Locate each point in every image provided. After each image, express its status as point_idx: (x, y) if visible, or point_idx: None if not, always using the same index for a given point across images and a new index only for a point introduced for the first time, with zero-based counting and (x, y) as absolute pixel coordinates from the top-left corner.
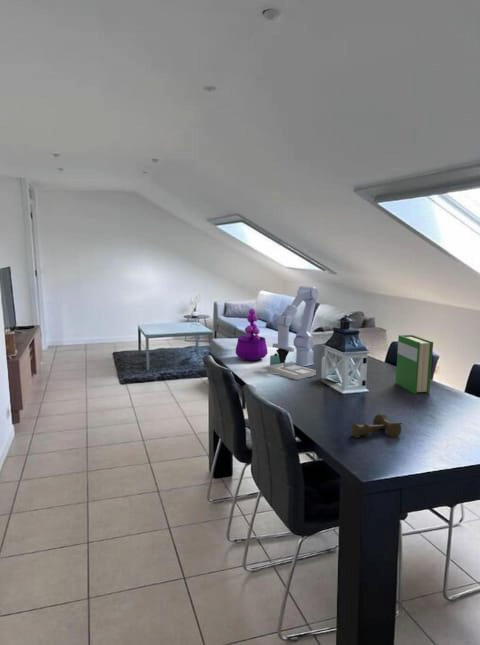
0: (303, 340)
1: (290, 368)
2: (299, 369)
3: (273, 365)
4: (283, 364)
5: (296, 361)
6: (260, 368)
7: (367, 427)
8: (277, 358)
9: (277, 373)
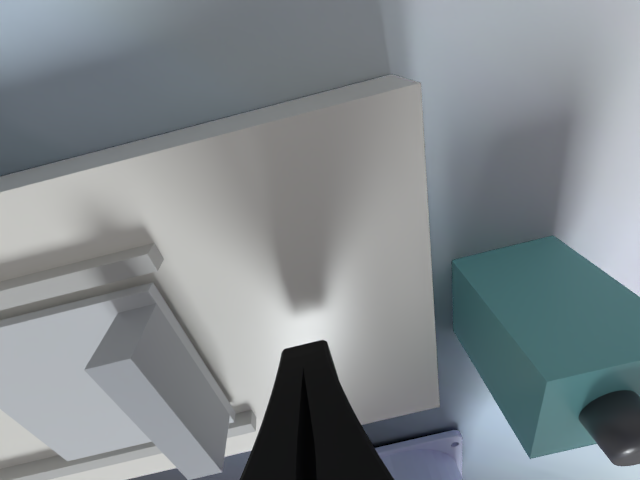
0: None
1: (21, 351)
2: None
3: (389, 219)
4: (368, 357)
5: (434, 472)
6: (567, 35)
7: None
8: (521, 382)
9: (132, 142)
